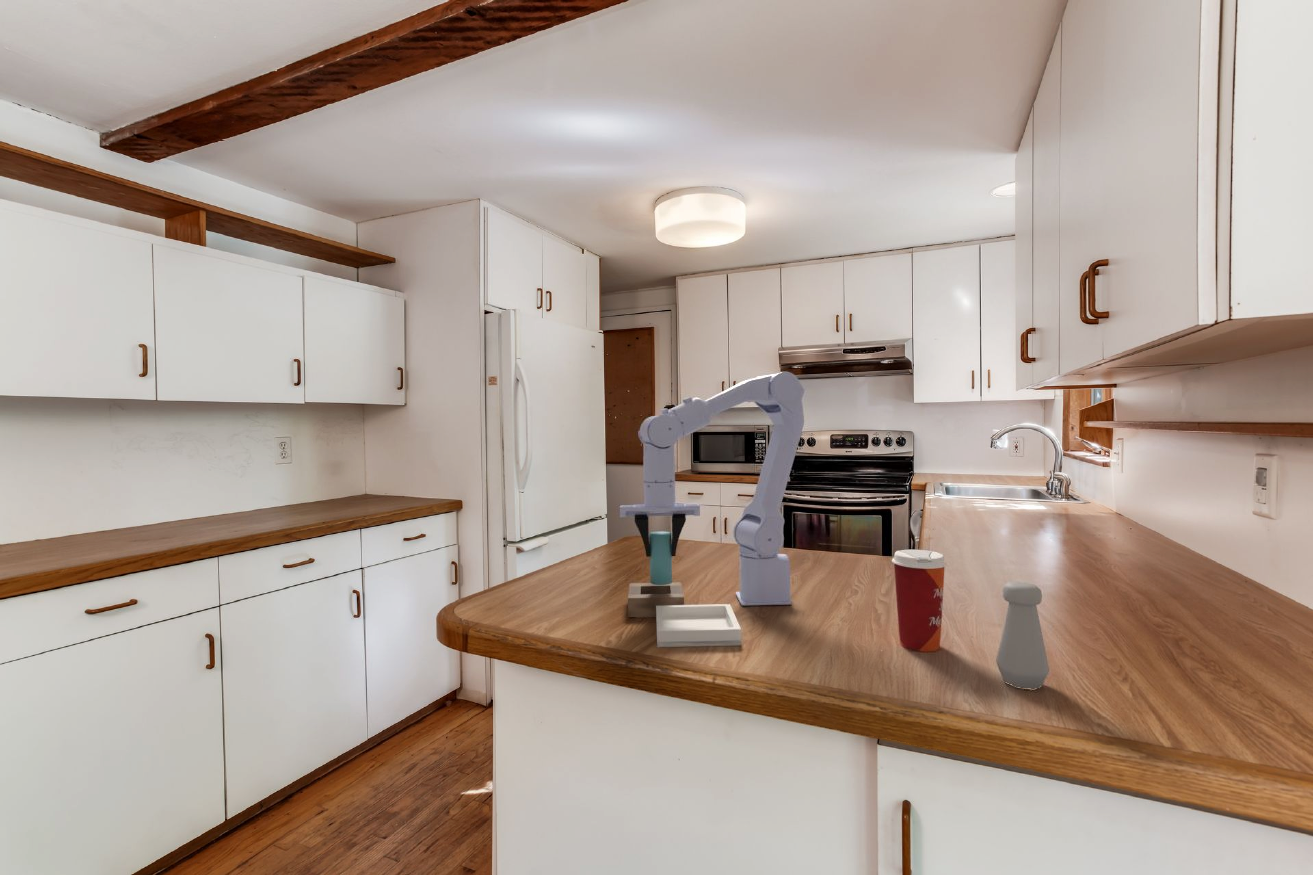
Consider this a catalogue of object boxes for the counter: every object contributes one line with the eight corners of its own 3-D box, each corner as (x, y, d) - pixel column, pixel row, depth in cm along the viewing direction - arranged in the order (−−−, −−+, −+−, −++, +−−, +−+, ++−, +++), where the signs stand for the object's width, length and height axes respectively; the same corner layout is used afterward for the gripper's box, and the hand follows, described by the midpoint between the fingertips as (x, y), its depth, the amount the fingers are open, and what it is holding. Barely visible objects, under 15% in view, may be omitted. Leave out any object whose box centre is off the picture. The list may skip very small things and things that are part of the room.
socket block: (681, 600, 117) (681, 582, 117) (684, 616, 107) (683, 597, 107) (630, 601, 117) (629, 583, 117) (628, 617, 107) (627, 598, 107)
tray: (730, 618, 106) (729, 604, 106) (741, 645, 93) (741, 629, 93) (656, 619, 105) (656, 605, 105) (657, 647, 92) (657, 631, 92)
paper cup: (954, 656, 87) (953, 560, 87) (897, 653, 88) (896, 558, 88) (939, 637, 94) (939, 549, 94) (888, 634, 96) (887, 547, 96)
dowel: (671, 579, 112) (670, 531, 112) (672, 584, 108) (671, 535, 108) (650, 579, 112) (649, 531, 112) (650, 585, 108) (649, 535, 108)
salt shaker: (986, 675, 80) (986, 578, 80) (1027, 673, 81) (1026, 577, 80) (1016, 694, 74) (1015, 590, 74) (1060, 692, 75) (1059, 588, 75)
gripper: (618, 484, 105) (619, 561, 106) (700, 482, 105) (702, 559, 106) (620, 480, 112) (622, 552, 113) (697, 479, 112) (699, 551, 113)
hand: (660, 555), depth 110 cm, fingers closed on dowel, 4 cm apart
